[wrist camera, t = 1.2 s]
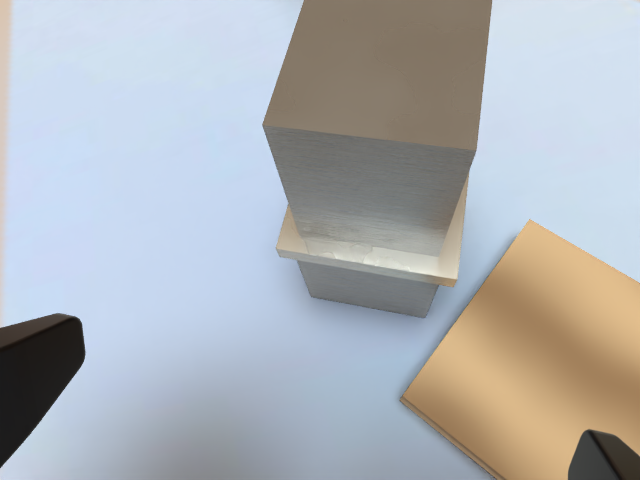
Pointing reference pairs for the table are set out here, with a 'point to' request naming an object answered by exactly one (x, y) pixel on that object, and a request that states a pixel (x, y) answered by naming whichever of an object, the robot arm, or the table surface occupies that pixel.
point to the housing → (378, 145)
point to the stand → (537, 361)
